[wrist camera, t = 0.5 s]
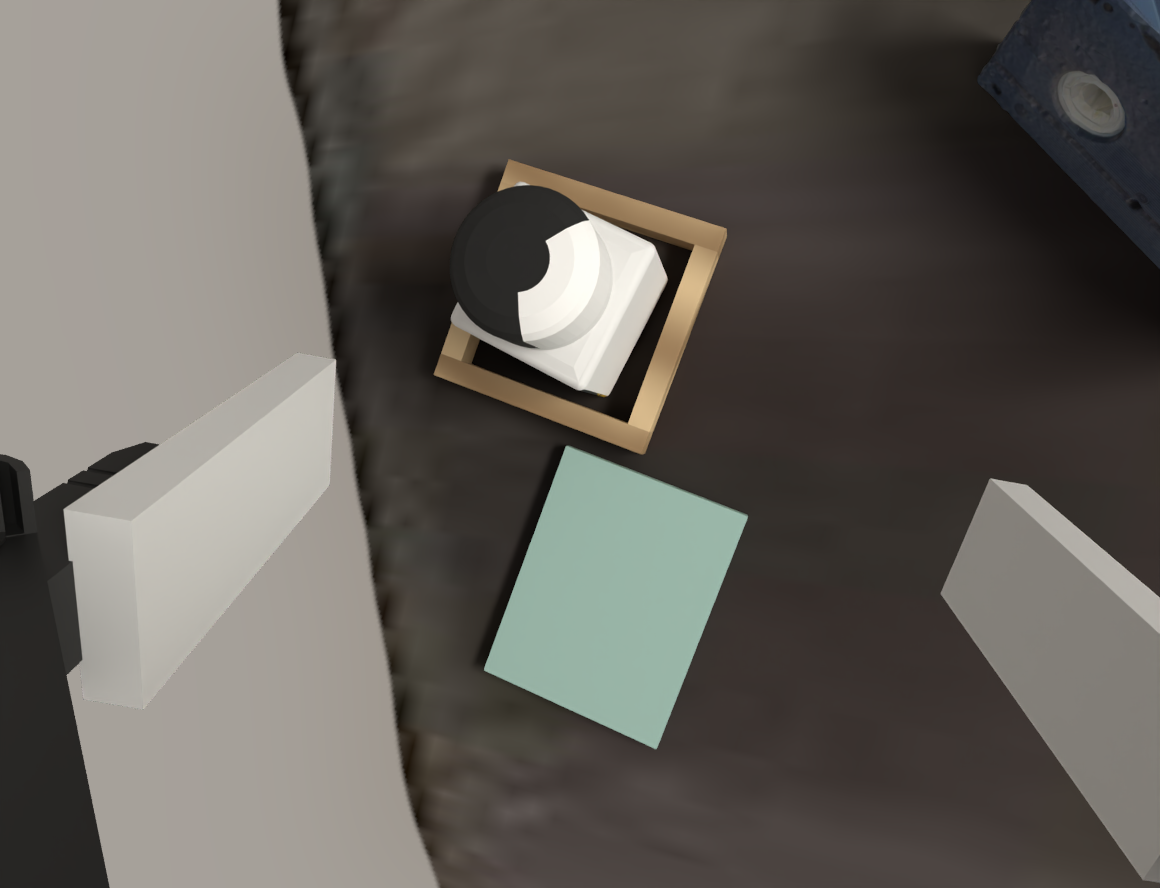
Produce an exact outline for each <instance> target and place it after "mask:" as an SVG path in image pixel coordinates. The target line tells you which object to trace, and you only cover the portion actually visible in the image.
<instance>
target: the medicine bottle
mask: <svg viewBox="0 0 1160 888" xmlns="http://www.w3.org/2000/svg"><path fill="white" fill-rule="evenodd" d="M450 278H451V284H452V288H453V291H454V294H455V296H456V299H457V301H458V302H457V304H456V306H455V309H454V311H453V313H452V315H451V321H452V323H453V324H454V325H455V326H456V327H458V328H460V329H462V330H464V331H466V332H468V333H470V334H471V335H473V336H475V337H477V338H479V339H481V340H483V341H485V342H487V343H489V344H490V345H492V346H494V347H496V348H498V349H500V350H502V351H504V352H506V353H508V354H509V355H511V356H513V357H515V358H517V359H519V360H521V361H523V362H525V363H527V364H528V365H530V366H532V367H534V368H536V369H538V370H540V371H542V372H544V373H546V374H547V375H549V376H551V377H553V378H555V379H557V380H559V381H561V382H563V383H565V384H566V385H568V386H570V387H572V388H574V389H576V390H579V391H583V392H587V393H590V394H594V395H598V396H601V397H606V396H608V395H609V394H610V393H611V391H612V389H613V387H614V385H615V383H616V381H617V379H618V377H619V375H620V373H621V371H622V369H623V367H624V365H625V364H626V362H627V360H628V358H629V356H630V354H631V352H632V350H633V348H634V346H635V344H636V342H637V340H638V338H639V336H640V335H641V333H642V331H643V329H644V327H645V325H646V323H647V321H648V319H649V317H650V315H651V313H652V311H653V309H654V307H655V306H656V304H657V302H658V300H659V298H660V296H661V294H662V292H663V290H664V288H665V286H666V284H667V281H668V278H667V275H666V273H665V270H664V268H663V266H662V263H661V261H660V258H659V256H658V253H657V251H656V248H655V246H654V245H653V244H652V243H650V242H648V241H646V240H644V239H642V238H640V237H638V236H636V235H634V234H631V233H629V232H627V231H625V230H623V229H621V228H619V227H617V226H615V225H613V224H611V223H609V222H606V221H604V220H602V219H600V218H598V217H596V216H594V215H592V214H590V213H588V212H586V211H583V210H581V209H580V208H579V206H578V205H577V204H576V203H574V202H573V201H572V200H571V199H569V198H568V197H567V196H565V195H563V194H561V193H560V192H557V191H555V190H552V189H550V188H546V187H542V186H534V185H529V184H527V183H525V182H518V183H516V184H515V185H514V187H510V188H506V189H503V190H501V191H498V192H496V193H494V194H492V195H490V196H488V197H487V198H486V199H484V200H483V201H481V202H480V203H479V204H478V205H477V206H476V207H475V208H474V209H473V210H471V212H470V213H469V214H468V215H467V217H466V218H465V219H464V221H463V223H462V224H461V226H460V227H459V229H458V232H457V234H456V236H455V239H454V242H453V245H452V249H451V255H450Z"/></svg>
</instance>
